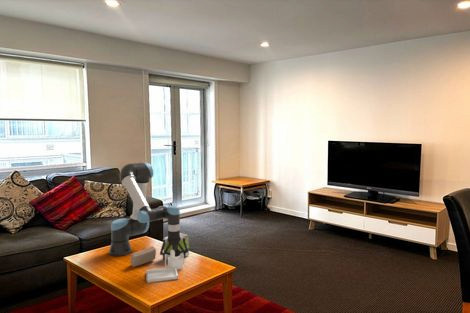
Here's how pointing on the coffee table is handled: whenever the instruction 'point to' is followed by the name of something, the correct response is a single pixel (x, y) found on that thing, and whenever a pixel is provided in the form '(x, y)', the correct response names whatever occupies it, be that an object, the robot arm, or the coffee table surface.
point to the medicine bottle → (175, 259)
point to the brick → (143, 256)
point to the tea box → (177, 245)
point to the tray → (161, 274)
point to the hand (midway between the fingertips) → (174, 264)
